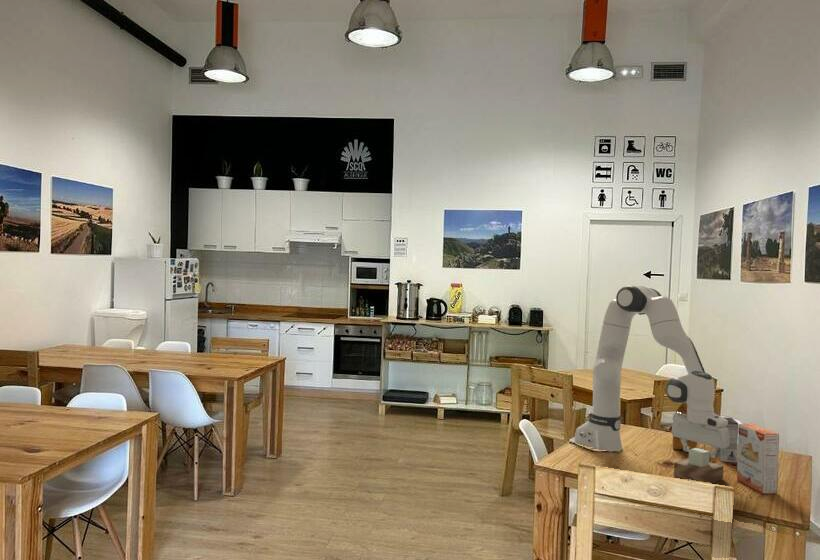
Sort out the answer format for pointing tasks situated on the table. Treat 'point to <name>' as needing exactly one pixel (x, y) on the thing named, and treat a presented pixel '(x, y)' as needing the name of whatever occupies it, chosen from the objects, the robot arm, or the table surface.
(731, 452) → the coffee box
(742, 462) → the cracker box
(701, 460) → the sage cube
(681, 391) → the robot arm
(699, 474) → the walnut block
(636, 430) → the table surface
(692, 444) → the coffee package
